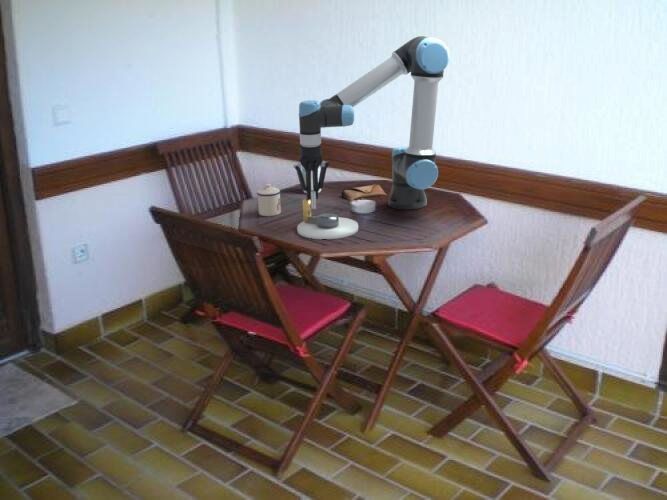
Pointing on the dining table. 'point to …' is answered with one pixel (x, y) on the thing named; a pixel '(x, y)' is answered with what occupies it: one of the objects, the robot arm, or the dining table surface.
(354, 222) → the dial plate
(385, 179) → the dining table surface
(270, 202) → the teacup with lid
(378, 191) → the sunglasses case
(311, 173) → the milk bottle
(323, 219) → the lever
